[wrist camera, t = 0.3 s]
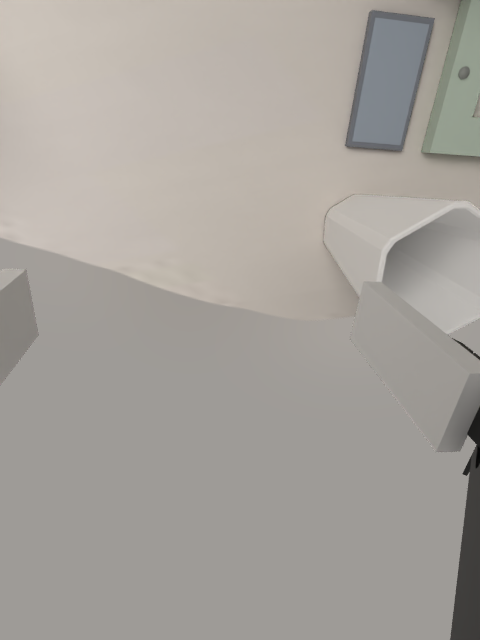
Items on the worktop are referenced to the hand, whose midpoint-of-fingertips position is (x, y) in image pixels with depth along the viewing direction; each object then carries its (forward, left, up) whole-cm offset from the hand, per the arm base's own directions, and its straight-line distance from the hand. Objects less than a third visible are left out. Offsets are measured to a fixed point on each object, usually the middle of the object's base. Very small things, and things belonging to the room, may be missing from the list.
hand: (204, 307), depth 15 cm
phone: (-12, +18, -28) cm, 35 cm away
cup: (+2, +18, -27) cm, 33 cm away
